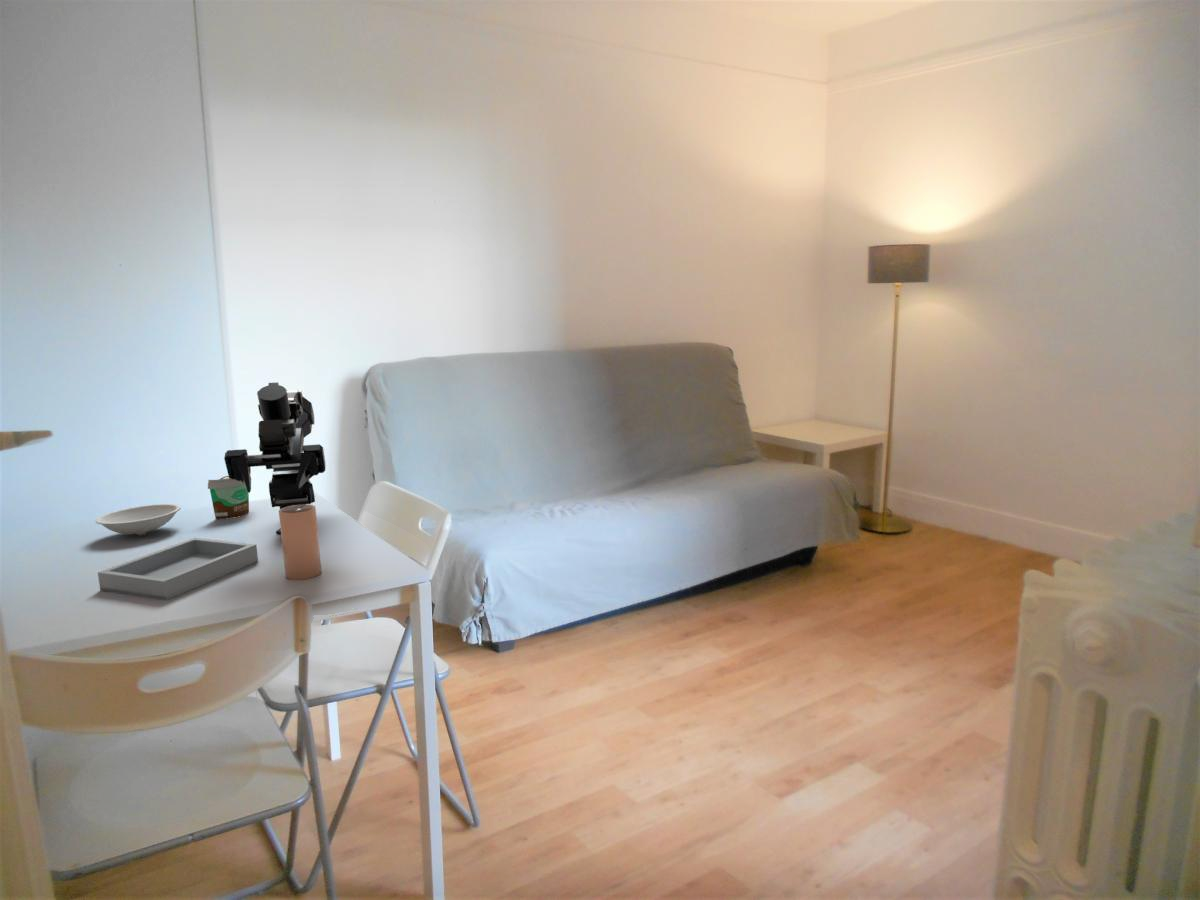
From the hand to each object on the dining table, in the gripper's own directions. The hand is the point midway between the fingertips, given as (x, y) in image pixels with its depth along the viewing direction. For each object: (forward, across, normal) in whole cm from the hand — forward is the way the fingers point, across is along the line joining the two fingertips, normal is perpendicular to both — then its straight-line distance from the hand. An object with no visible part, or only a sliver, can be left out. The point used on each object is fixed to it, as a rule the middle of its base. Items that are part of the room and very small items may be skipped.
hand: (273, 488), depth 164 cm
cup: (+14, +5, +10) cm, 18 cm away
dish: (-21, -34, +30) cm, 50 cm away
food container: (-31, -15, +35) cm, 49 cm away
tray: (+8, -18, +13) cm, 24 cm away
